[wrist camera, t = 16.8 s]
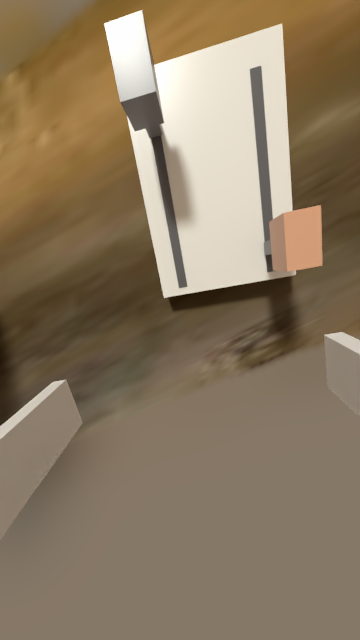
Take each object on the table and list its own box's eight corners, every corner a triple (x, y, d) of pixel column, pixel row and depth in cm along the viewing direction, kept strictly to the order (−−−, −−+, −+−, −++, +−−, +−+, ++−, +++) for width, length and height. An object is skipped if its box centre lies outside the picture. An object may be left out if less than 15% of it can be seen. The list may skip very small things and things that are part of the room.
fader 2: (260, 269, 28) (287, 271, 19) (256, 229, 27) (283, 212, 18) (284, 265, 28) (322, 265, 19) (281, 224, 27) (320, 204, 18)
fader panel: (167, 294, 33) (163, 297, 30) (127, 96, 27) (118, 75, 24) (287, 273, 31) (296, 275, 28) (272, 51, 25) (282, 22, 22)
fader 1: (147, 156, 26) (120, 102, 17) (137, 107, 25) (104, 23, 16) (171, 149, 26) (155, 91, 17) (162, 100, 24) (141, 10, 16)
